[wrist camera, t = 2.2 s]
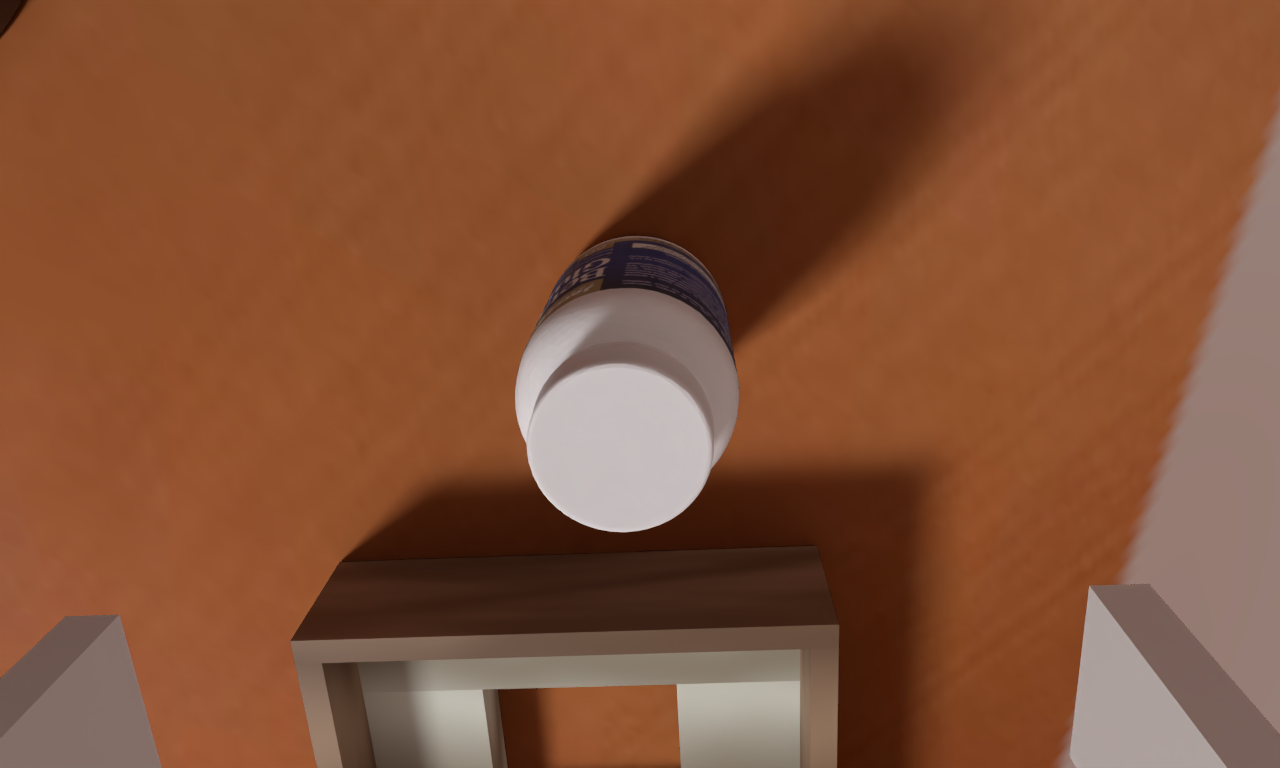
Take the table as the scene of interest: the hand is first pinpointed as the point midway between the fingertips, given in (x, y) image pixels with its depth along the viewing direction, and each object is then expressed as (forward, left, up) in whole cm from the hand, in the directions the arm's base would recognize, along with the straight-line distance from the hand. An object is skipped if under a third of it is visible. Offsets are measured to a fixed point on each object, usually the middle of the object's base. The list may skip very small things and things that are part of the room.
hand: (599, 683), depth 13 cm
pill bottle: (0, 0, -17) cm, 17 cm away
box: (+15, -3, -17) cm, 23 cm away
